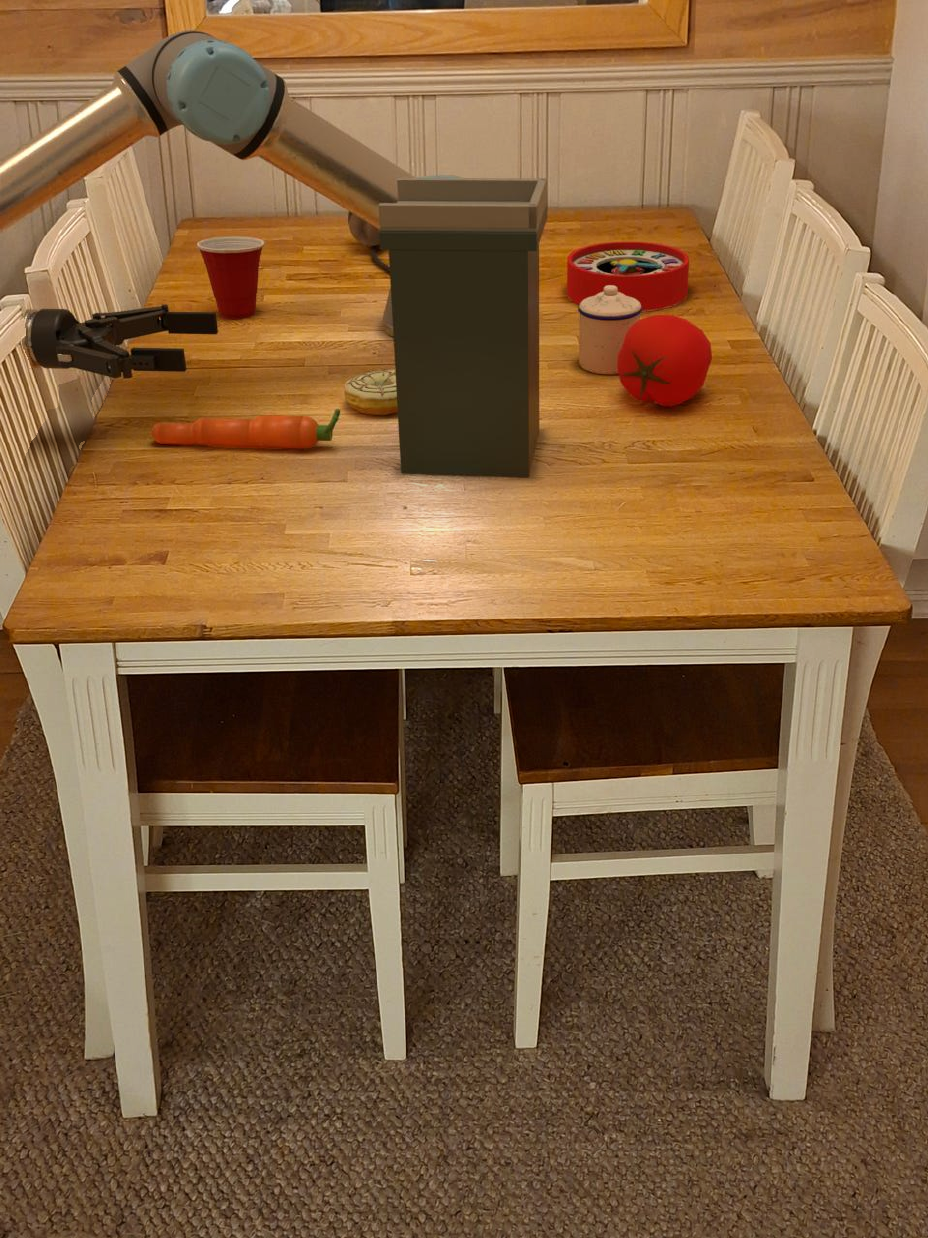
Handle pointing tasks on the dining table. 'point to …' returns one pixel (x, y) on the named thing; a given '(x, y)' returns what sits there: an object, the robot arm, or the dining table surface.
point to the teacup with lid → (605, 328)
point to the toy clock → (630, 273)
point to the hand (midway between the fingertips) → (201, 341)
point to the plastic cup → (233, 273)
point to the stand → (466, 322)
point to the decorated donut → (373, 392)
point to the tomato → (664, 360)
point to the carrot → (247, 432)
